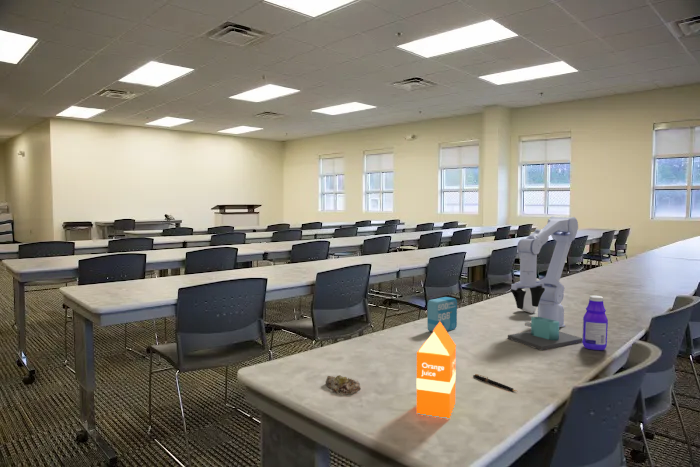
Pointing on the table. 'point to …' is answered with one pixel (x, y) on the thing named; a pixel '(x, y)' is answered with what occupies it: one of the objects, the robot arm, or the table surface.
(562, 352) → the table surface
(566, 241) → the robot arm
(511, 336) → the rubber mat
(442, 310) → the data package
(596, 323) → the bottle
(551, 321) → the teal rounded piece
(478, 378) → the fountain pen
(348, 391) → the mineral rock
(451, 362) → the orange juice
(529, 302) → the white teddy bear
